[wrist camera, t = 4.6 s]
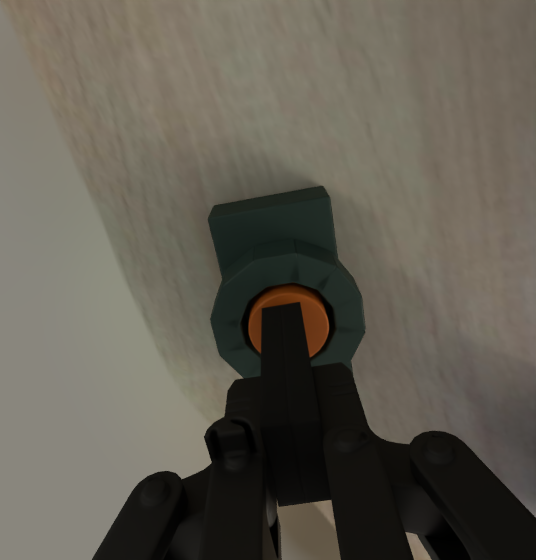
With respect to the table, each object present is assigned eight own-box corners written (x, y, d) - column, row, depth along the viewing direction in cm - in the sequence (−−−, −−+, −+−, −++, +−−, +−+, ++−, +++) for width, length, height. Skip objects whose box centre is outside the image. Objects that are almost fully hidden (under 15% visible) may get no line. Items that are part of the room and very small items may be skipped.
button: (243, 282, 18) (240, 300, 17) (318, 269, 18) (323, 286, 16) (257, 346, 20) (256, 369, 18) (328, 335, 19) (333, 357, 18)
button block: (201, 207, 20) (186, 233, 16) (336, 182, 19) (352, 204, 16) (242, 371, 23) (237, 424, 19) (356, 353, 23) (374, 404, 19)
